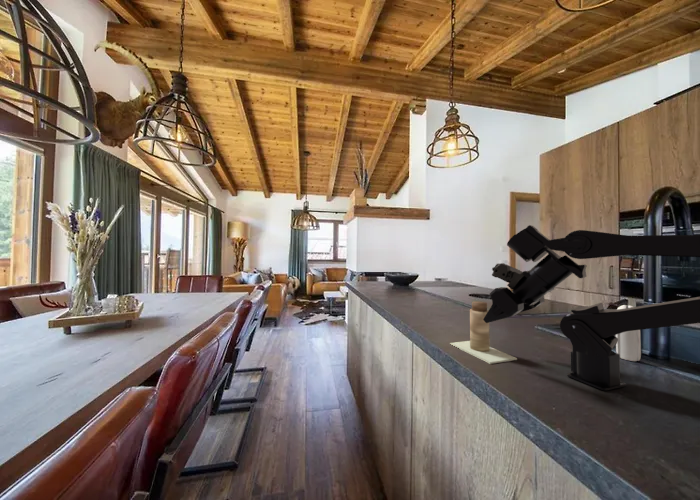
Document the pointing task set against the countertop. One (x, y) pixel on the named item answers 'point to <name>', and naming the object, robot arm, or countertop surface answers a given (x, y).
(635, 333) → the white rounded-top upright
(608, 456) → the countertop surface
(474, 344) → the pepper mill
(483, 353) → the sage mat
